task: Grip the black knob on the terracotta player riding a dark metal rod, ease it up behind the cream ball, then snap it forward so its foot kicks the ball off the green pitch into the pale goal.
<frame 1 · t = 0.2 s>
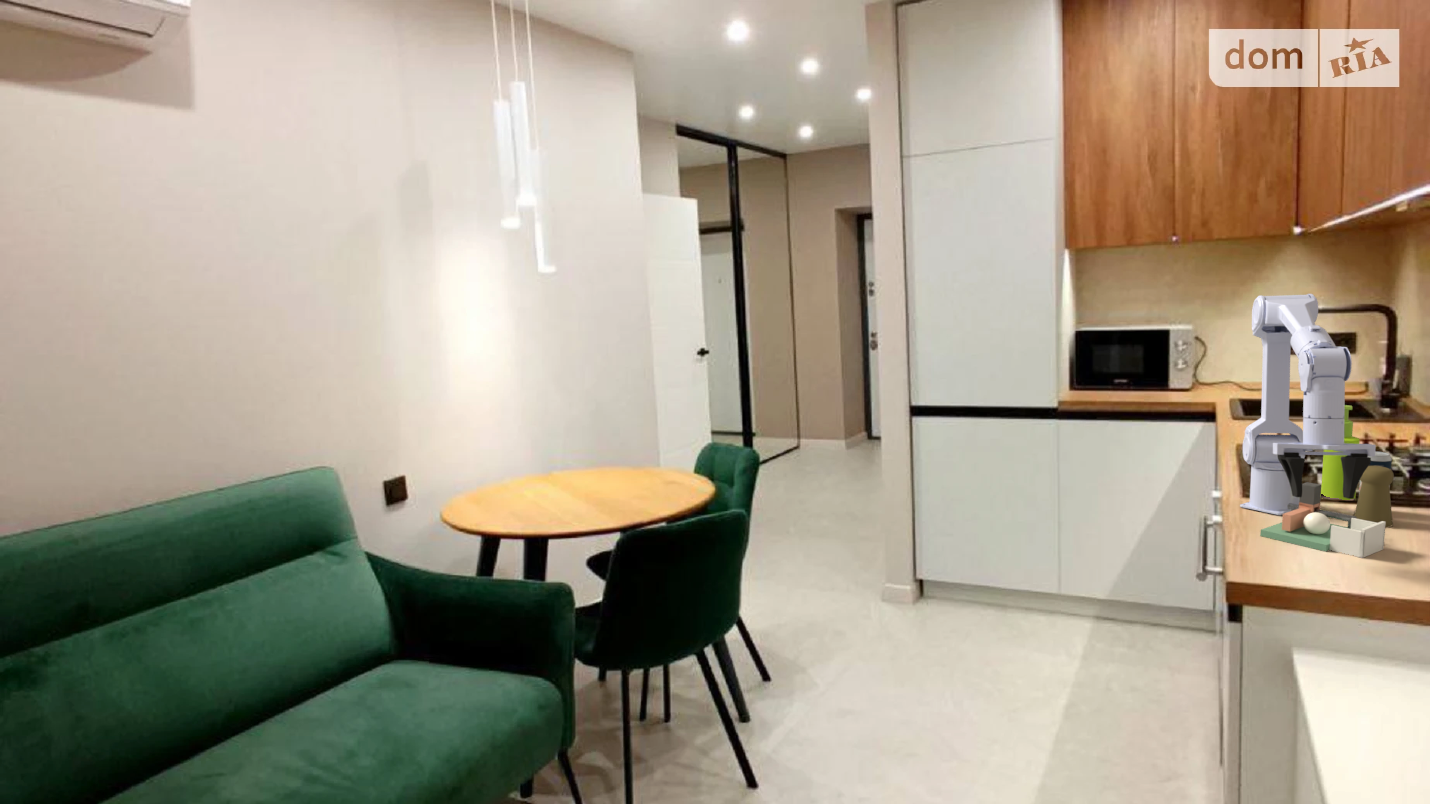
hand: (1322, 497, 143), 11 cm above the countertop, tool pointing down, fingers open, 7 cm apart
cork: (1372, 523, 160), on the countertop
soap dispenser: (1334, 498, 176), on the countertop
player: (1300, 506, 155), point 5 cm above the countertop, slide at 0.0 cm
ball: (1316, 523, 152), point 3 cm above the countertop, touching pitch
beer can: (1372, 513, 166), on the countertop
rod: (1319, 533, 156), resting on pitch
goal: (1356, 549, 147), on the countertop
pitch: (1311, 536, 154), on the countertop
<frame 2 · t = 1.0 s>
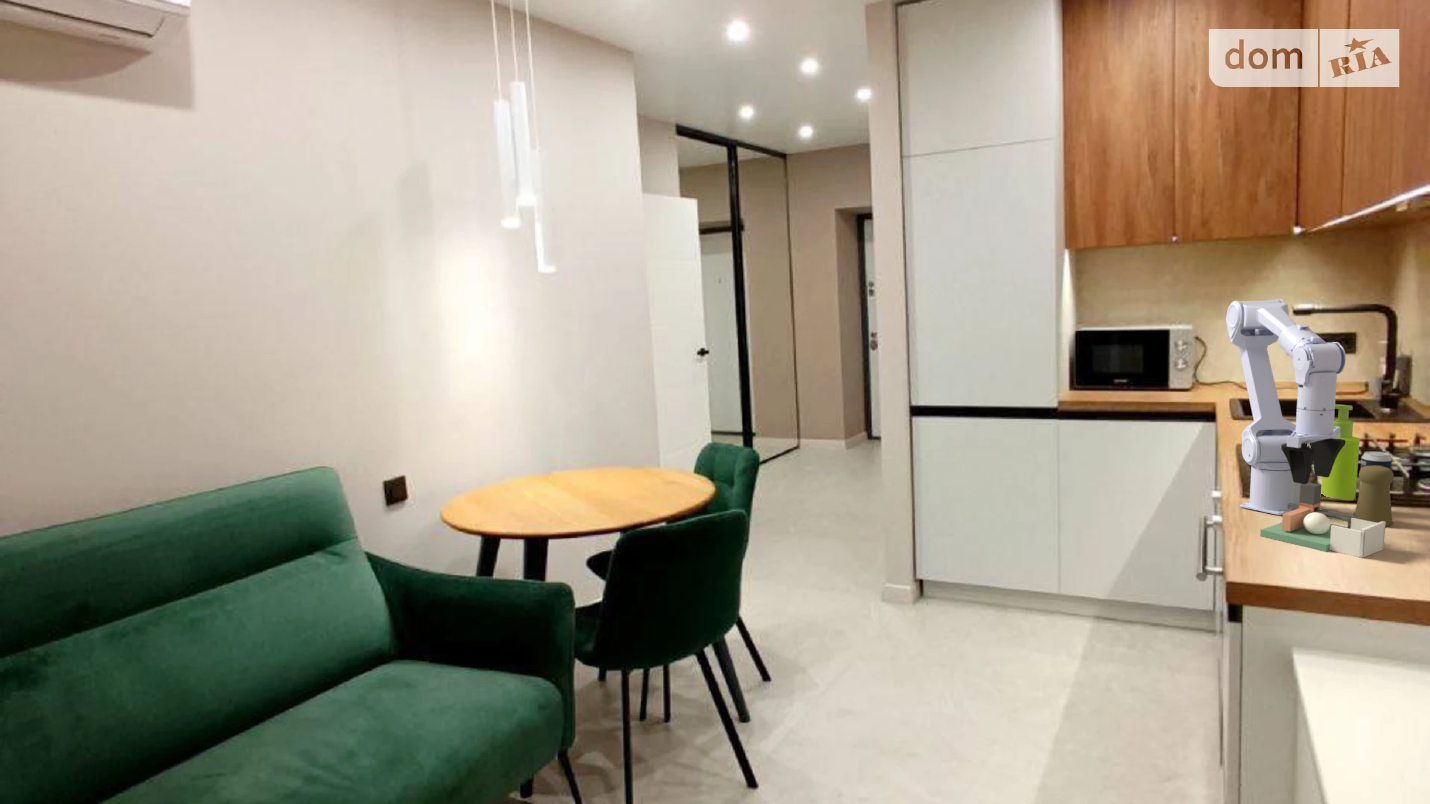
hand: (1311, 479, 156), 10 cm above the countertop, tool pointing down, fingers open, 7 cm apart
nothing on the countertop moved.
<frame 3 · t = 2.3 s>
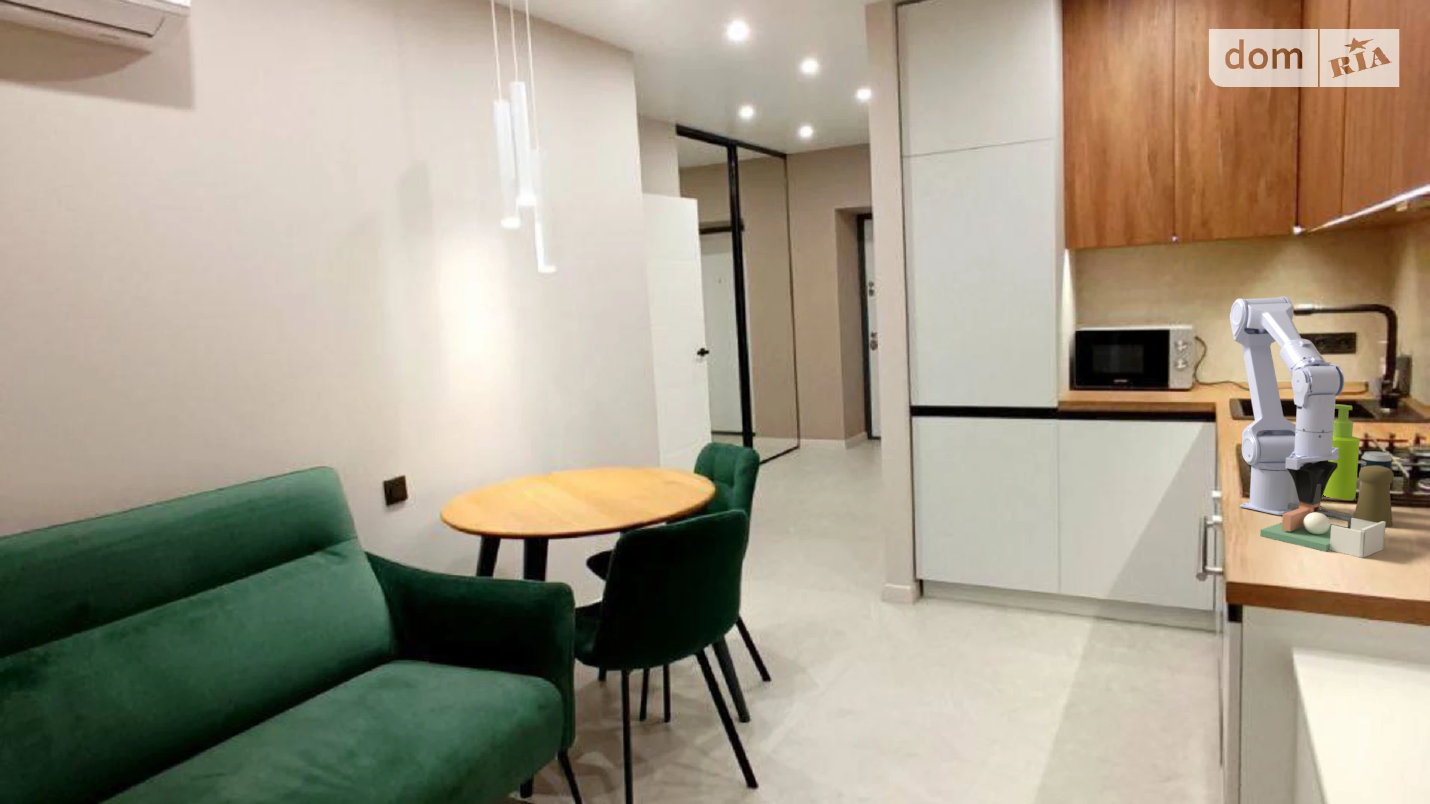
hand: (1309, 500, 157), 6 cm above the countertop, tool pointing down, fingers closed on player, 2 cm apart
player: (1300, 506, 155), point 5 cm above the countertop, slide at 0.0 cm, touching gripper
everything else where it was.
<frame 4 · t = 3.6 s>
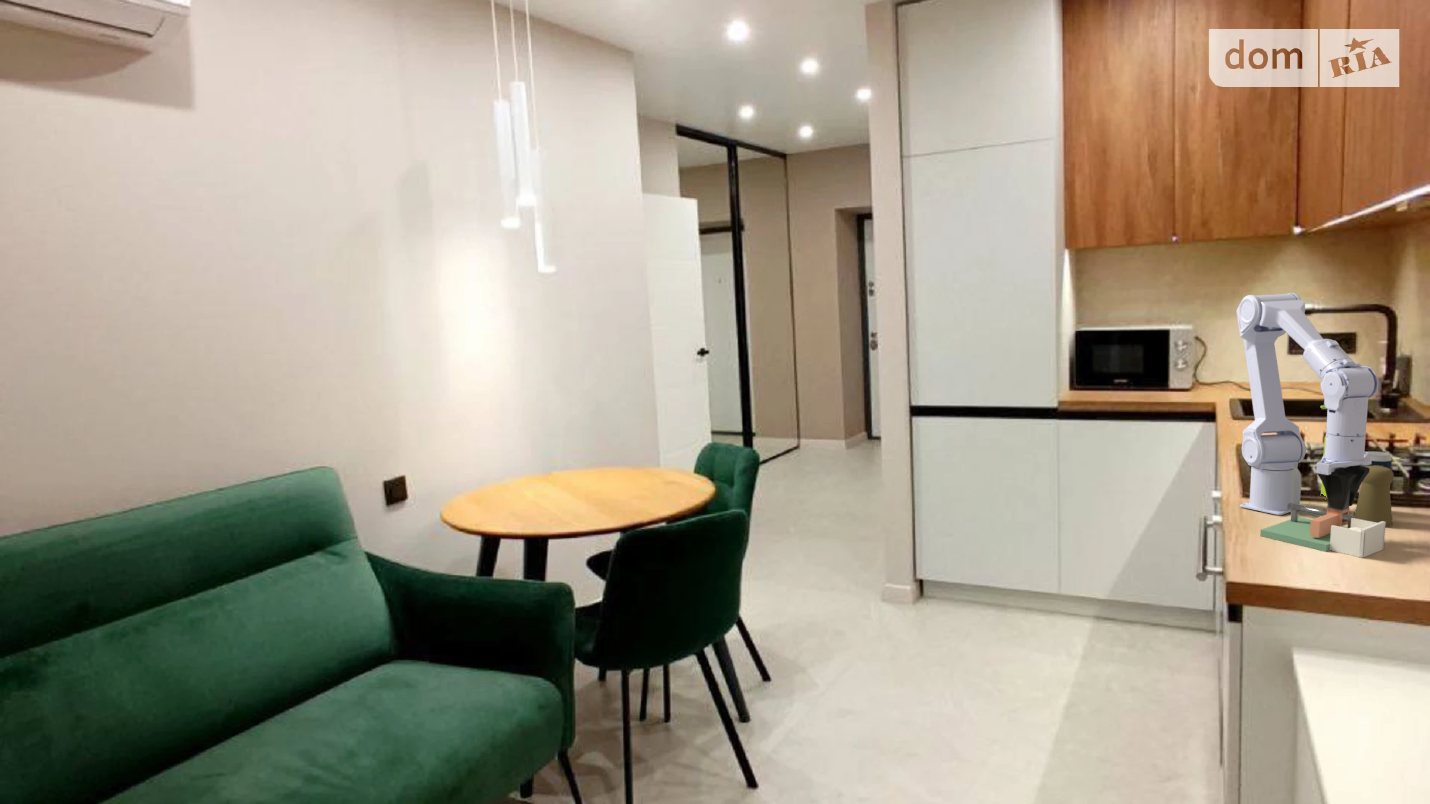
hand: (1340, 506, 152), 6 cm above the countertop, tool pointing down, fingers closed on player, 2 cm apart
player: (1328, 512, 151), point 5 cm above the countertop, slide at 4.7 cm, touching gripper
ball: (1356, 538, 147), point 2 cm above the countertop, tilted 147°
everything else where it was.
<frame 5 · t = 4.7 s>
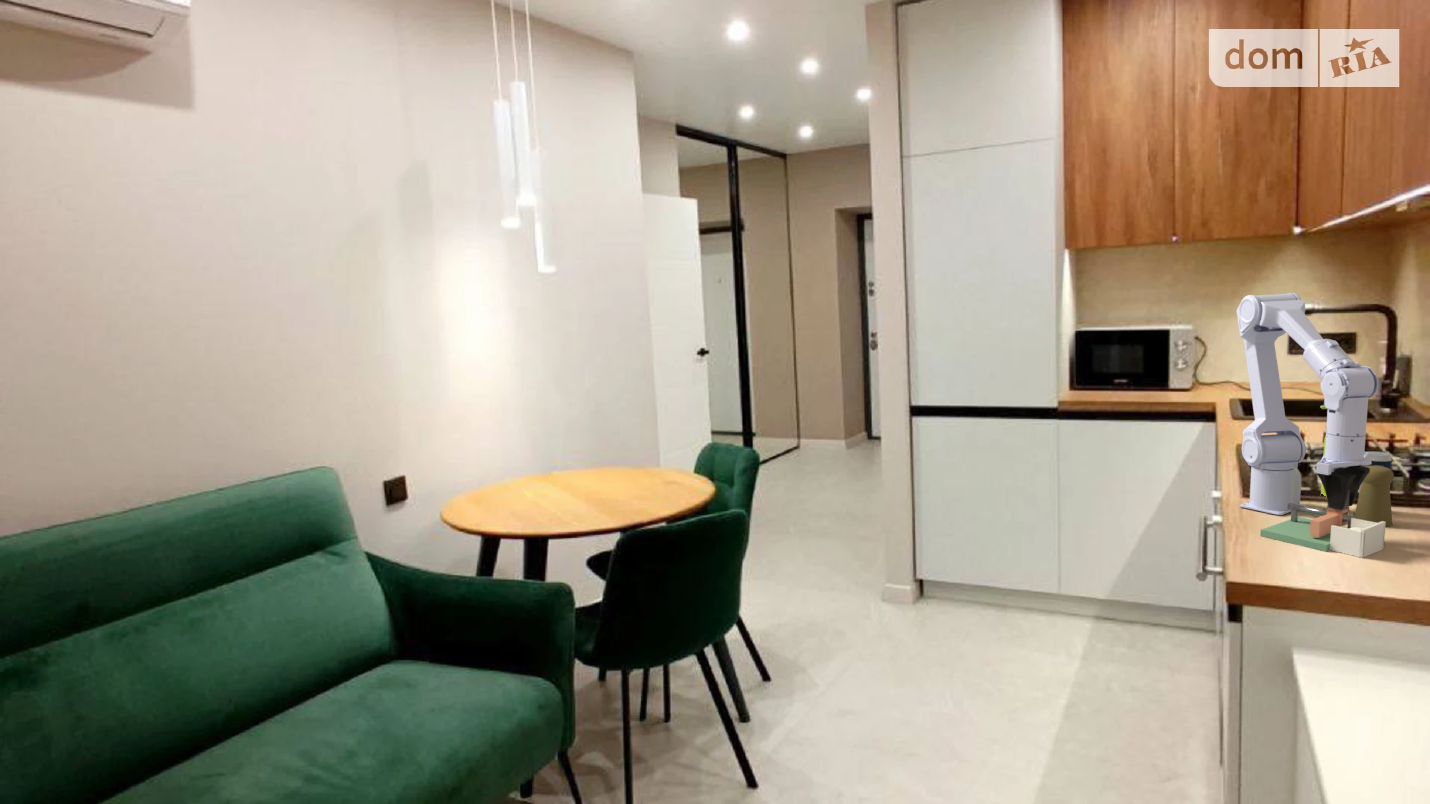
hand: (1340, 506, 152), 6 cm above the countertop, tool pointing down, fingers open, 3 cm apart
player: (1328, 512, 151), point 5 cm above the countertop, slide at 4.7 cm
everything else where it was.
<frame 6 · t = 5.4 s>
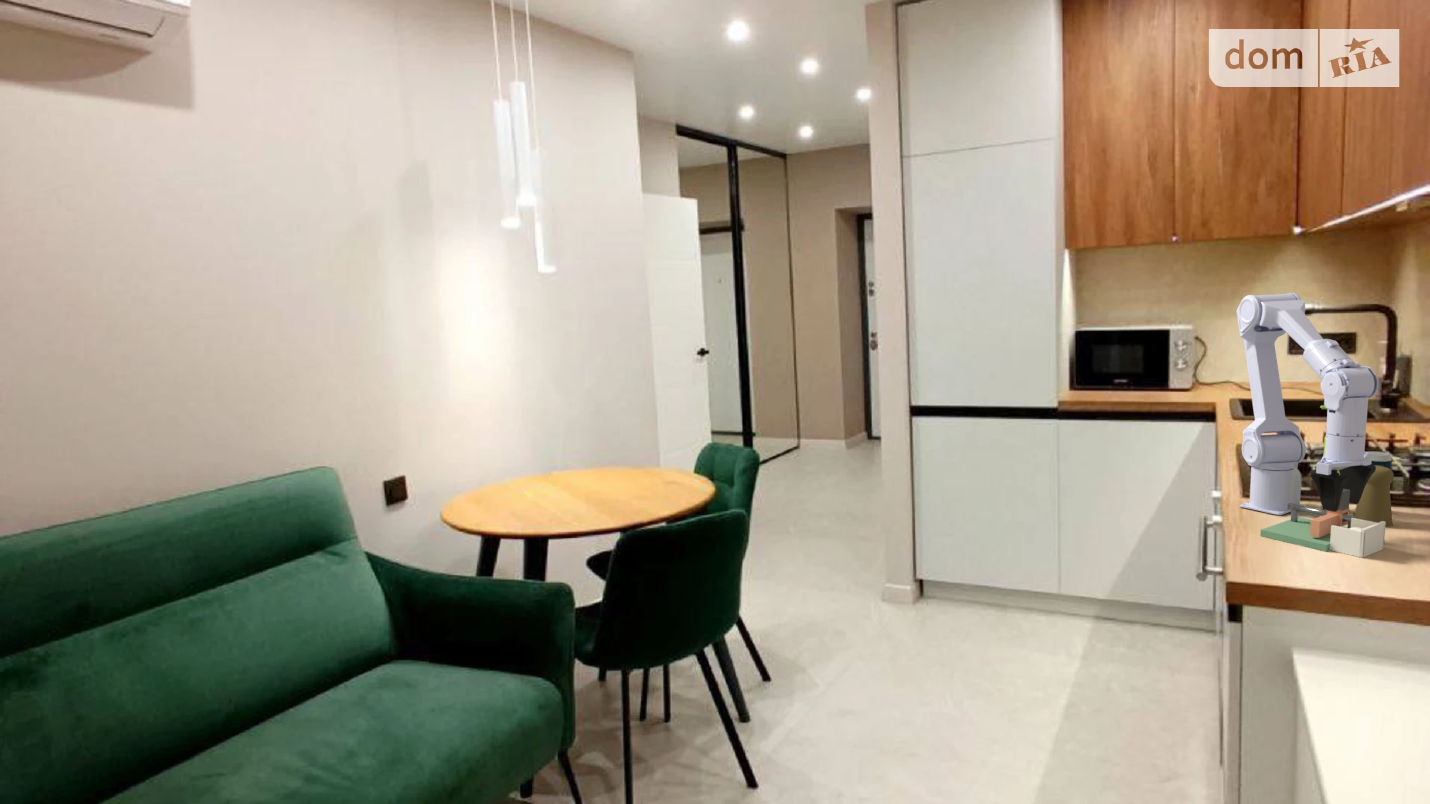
hand: (1340, 506, 152), 6 cm above the countertop, tool pointing down, fingers open, 7 cm apart
nothing on the countertop moved.
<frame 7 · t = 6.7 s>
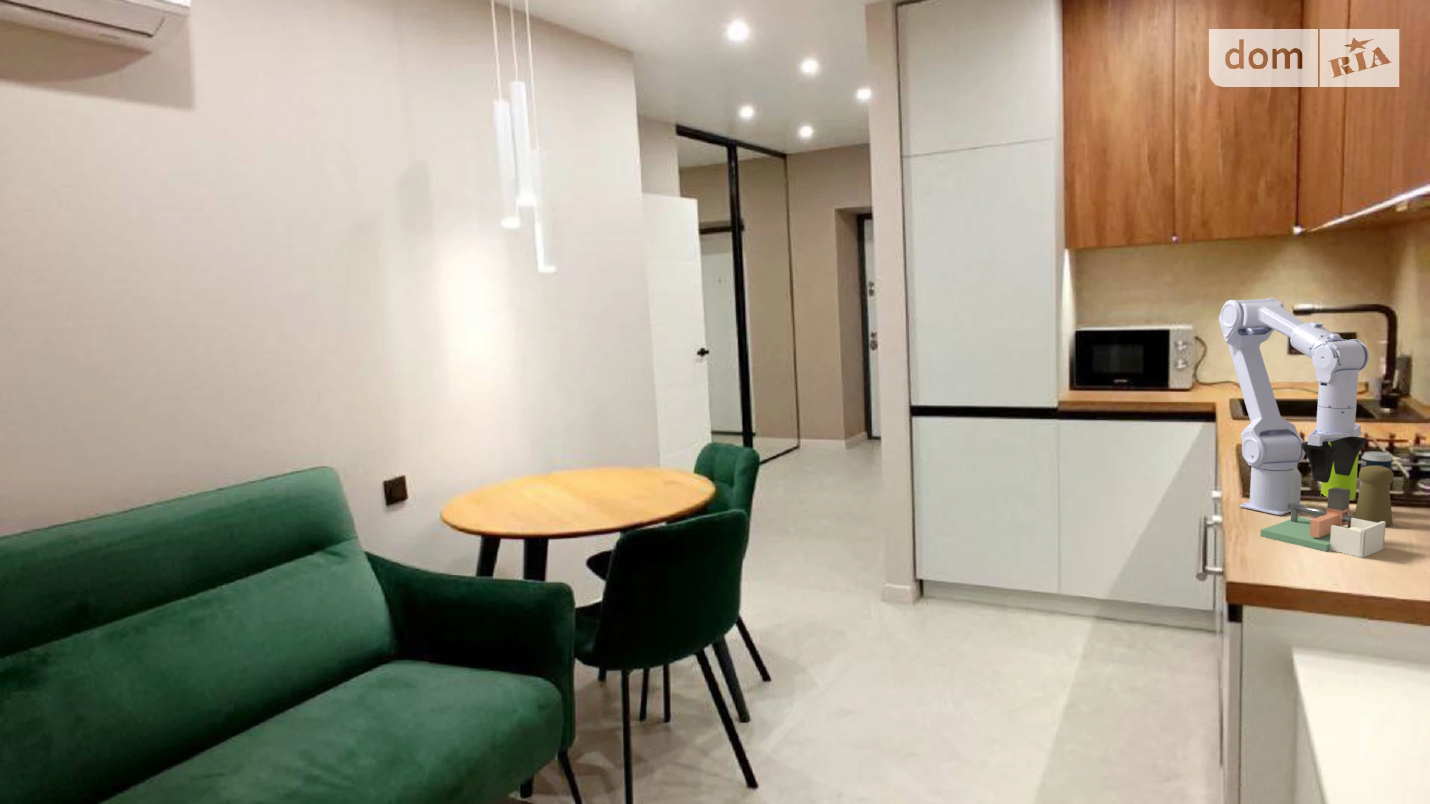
hand: (1331, 478, 155), 10 cm above the countertop, tool pointing down, fingers open, 7 cm apart
nothing on the countertop moved.
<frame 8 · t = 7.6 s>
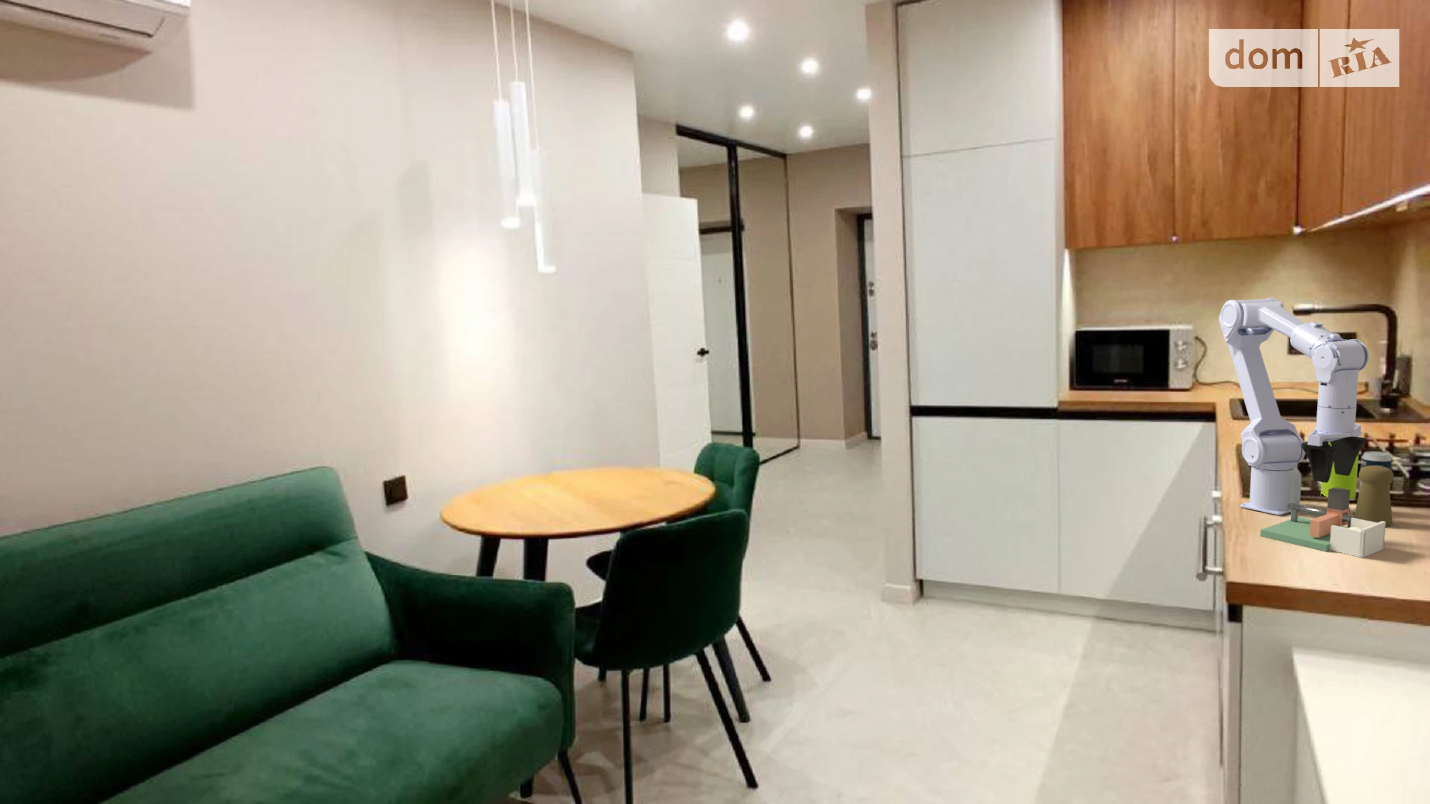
hand: (1331, 478, 155), 10 cm above the countertop, tool pointing down, fingers open, 7 cm apart
nothing on the countertop moved.
at the end: ball 0.5 cm from the target spot, point 2.0 cm above the countertop; player slide at 4.7 cm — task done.
